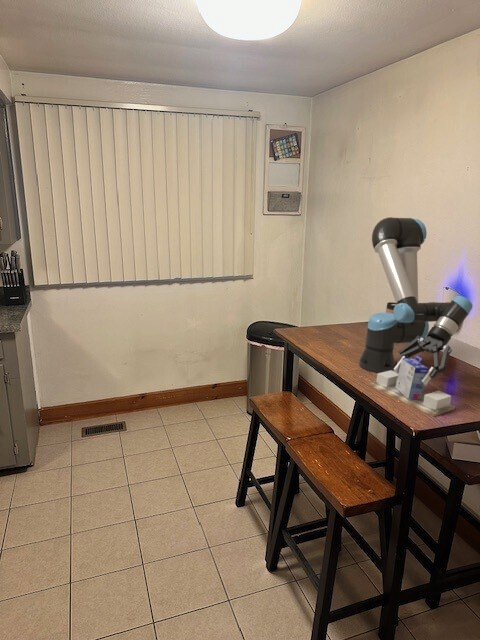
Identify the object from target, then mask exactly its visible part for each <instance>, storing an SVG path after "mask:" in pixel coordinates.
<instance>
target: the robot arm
mask: <svg viewBox="0 0 480 640" xmlns="http://www.w3.org/2000/svg"><path fill="white" fill-rule="evenodd" d="M426 228H427V227H426V226H425V224H424V222H422V220H420V219H418V218H413V217H408V218H407V217H386V218H383V219H380V221H378V222H377V223H376V225H375V226H374V228H373V230H372V235H371V244H372V247H373V250H374V252H375V253H377V254H378V257H379V258H380V262H381V265H382V267H383V270H384V272H385V275H386V278H387V282H388V284H389V287H390V290H391V292H392V295H393V299H394V301H395V303H396V304H397V305H396V306H395V307H394V310H393V312H394V314H392V313H386V312H377V313H374V314H372V315H371V316H370V317H369V319H368V323H367V331H366V332H367V333H366V338H365V339H366V340H365V346H364V349H363V350H362V353H361V355H360V357H359V360H358V365H359V367H360V368H362V369H364V370H366V371H369V372H373V373H377V374H378V373H382V372H386V371H390V370H392V371H394V372H396V373H397V374H398V373H399V369H400V364H401V360H402V358H408V359H410V357H413V356H415V355H416V354H417V355H418V354H419V353H423V352H427V353H430V354H433V366H431V367H430V368H429V369H428V371H427V374H426V375H425V377H424V378H423V379H422V383H423V384H424V387H425V386H427V385H428V384H429V382H430V381H431V379H434V378H435V377H436V376H437V374H438V373H439V372H442V373H445V372H446V370H447V366H448V362H449V358H450V354H451V353H452V352H453V350H452V347H451V346H450V345H449V344H448V343H449V342H450V340H451V339H452V337H453V336H454V335H455V333H456V332H457V330H458V329H459V327H460V326H461V325H462V323H464V321H465V320H466V318H467V317H468V316H469V314H470V313H471V311H472V309H473V306H474V305H473V303H472V302H471V301H470V299H469V298H467V297H465V296H463V295H456V296H454V297H453V298H452V299H451V300H450V302H447V301H446V302H440V301H439V302H434V301H433V302H431V301H430V302H419V282H418V281H419V278H418V277H419V275H418V274H419V273H418V252H419V251H420V250H421V249H422V248H421V245H423V244H424V243H425V242H426V239H427V233H428V232H427V229H426ZM429 322H435V323H434V324H433V326H432V327H431V329H430V324H429ZM429 329H430V330H429ZM395 344H396V345H397V344H406V345H404V346H403V347H402V348H401V349H399V350H398V353H399V354H400V357H399V359H398V360H397V362H396V361H395V356H394V348H395V347H394V346H395ZM447 344H448V345H447ZM441 351H443V352H442V356H441V361H440V352H441ZM396 363H397V364H396Z"/></svg>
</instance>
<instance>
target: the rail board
mask: <svg viewBox="0 0 480 640" xmlns="http://www.w3.org/2000/svg"><path fill="white" fill-rule="evenodd" d="M376 381H377V379H376V380H373V382H371V383H370V384H369V385H370V387H371V388H374V389H377V390H378V391H380V392H383V393H385V394H387V395H389V396H391V397H393V398H395V399H397V400H399V401H401V402H403V403H406V404H407V405H409V406H411V407H414V408H416V409H418V410H419V411H421V412H424V413H426V414H428V415H429V416H432V417H437V416H439V415H442V414H443V415H444V414H445V413H448V412H450V411H453V410H456V406H455V405H453V404H451V403H450V405H448V406H446V407H443V408H440V409H437V410H435V409H433V408H431V407H429V406H427V405H424V404H423V402H424V396H425V395H426V394H427V393H426V392H424V391H423V394H422V398H421V399H408V398H407V397H406V396H405V395H403V394H402V393H401V392H400V391H399V390H398V389H396V388H395V387H396V384H395V385H391V386H387V387H386V386H384V385H382V384H380V383H378V382H376Z"/></svg>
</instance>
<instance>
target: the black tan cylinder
mask: <svg viewBox="0 0 480 640" xmlns="http://www.w3.org/2000/svg"><path fill="white" fill-rule="evenodd" d="M396 305H397V304H396V302H393V301H391V302H390V301H389V302H387V303H386V308H385V313H392V314H394V312H393V310H394V307H395V306H396Z"/></svg>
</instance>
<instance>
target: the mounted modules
mask: <svg viewBox="0 0 480 640" xmlns="http://www.w3.org/2000/svg"><path fill="white" fill-rule="evenodd" d="M398 374H399V373H398ZM398 374H397V373H396V372H395V371H392V370H390V371H386V372H382V373H378V372H377V375H376V380H377V381H376V380H375V381H376V382H378V383H380V384H382V385H384V386H386V387H387V386H391V385H395V384H396V383H397V378H398ZM451 400H452V395H450V394H448V393H446V392H444V391H441V390H436V391H432V392H430V393H426V395H425V396H424V402H423V404H424V405H427V406H429V407H431V408H433V409H435V410H437V409H440V408H443V407H446V406H448V405H450V404H451Z"/></svg>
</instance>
